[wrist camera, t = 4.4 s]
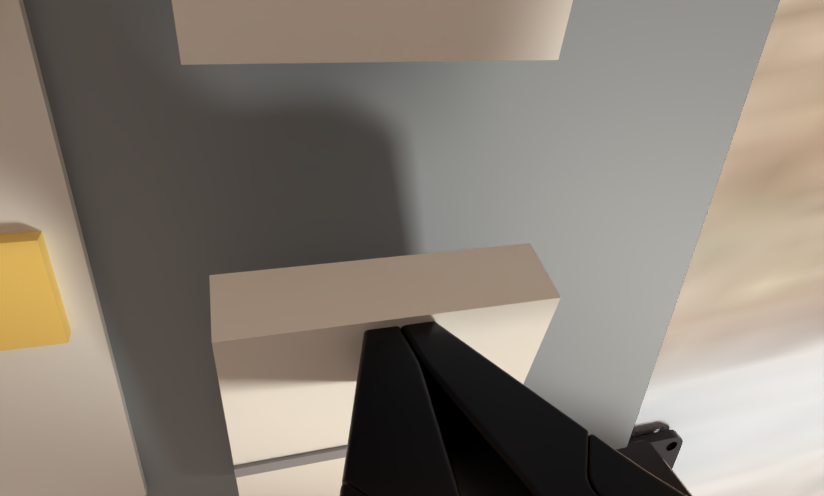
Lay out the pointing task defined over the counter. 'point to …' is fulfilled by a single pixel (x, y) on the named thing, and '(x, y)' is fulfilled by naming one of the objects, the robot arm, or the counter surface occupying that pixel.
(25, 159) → the console
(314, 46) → the panel
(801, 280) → the counter surface
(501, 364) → the block
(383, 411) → the robot arm
